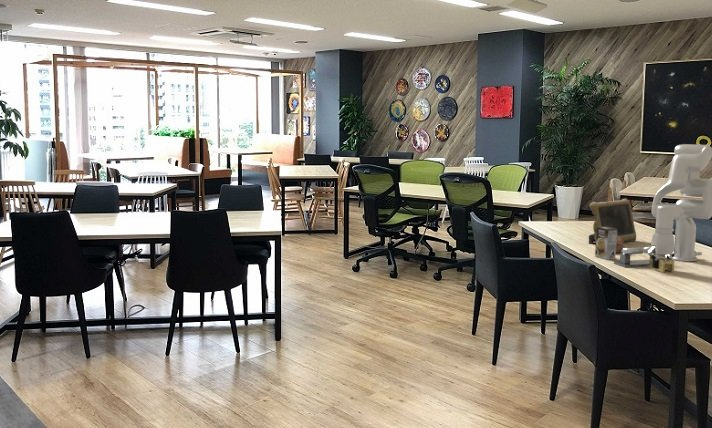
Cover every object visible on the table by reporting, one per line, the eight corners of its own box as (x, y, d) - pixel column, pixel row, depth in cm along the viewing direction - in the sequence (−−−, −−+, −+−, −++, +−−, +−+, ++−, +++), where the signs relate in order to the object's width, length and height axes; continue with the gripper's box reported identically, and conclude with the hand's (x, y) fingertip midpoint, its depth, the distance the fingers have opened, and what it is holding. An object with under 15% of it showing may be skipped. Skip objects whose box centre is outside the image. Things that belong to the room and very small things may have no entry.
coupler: (648, 268, 323) (649, 256, 322) (659, 267, 324) (660, 255, 324) (662, 272, 313) (663, 260, 312) (673, 272, 315) (674, 260, 314)
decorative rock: (602, 248, 371) (603, 231, 370) (623, 250, 367) (624, 232, 366) (601, 253, 359) (602, 235, 358) (623, 254, 355) (624, 236, 354)
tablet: (606, 247, 375) (608, 203, 371) (585, 243, 386) (587, 201, 382) (637, 241, 394) (640, 199, 391) (616, 238, 405) (619, 197, 402)
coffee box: (594, 256, 350) (596, 226, 347) (604, 255, 352) (606, 226, 349) (605, 260, 341) (607, 229, 339) (616, 259, 343) (617, 228, 341)
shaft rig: (658, 261, 338) (659, 245, 337) (670, 265, 330) (671, 248, 328) (613, 263, 333) (614, 247, 331) (624, 267, 324) (626, 250, 323)
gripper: (674, 229, 322) (671, 265, 324) (643, 230, 318) (640, 267, 320) (684, 231, 314) (682, 268, 317) (653, 233, 311) (650, 270, 313)
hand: (661, 267), depth 319 cm, fingers closed on coupler, 6 cm apart
